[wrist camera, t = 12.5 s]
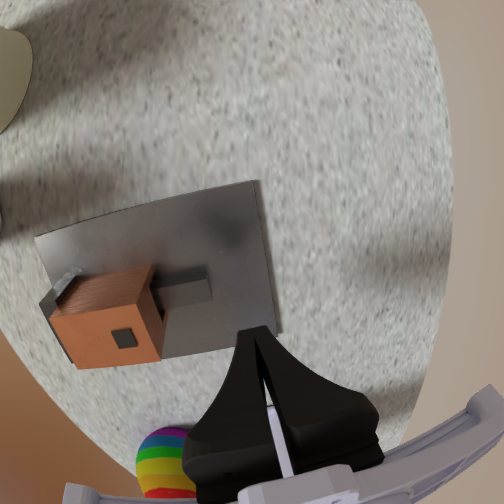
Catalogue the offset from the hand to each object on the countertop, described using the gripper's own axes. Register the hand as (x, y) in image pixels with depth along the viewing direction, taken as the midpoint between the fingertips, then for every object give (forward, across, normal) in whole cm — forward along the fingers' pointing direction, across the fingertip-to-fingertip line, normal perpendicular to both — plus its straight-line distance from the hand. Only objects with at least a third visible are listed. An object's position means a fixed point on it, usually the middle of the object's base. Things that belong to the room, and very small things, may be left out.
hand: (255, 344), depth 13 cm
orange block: (+7, +8, 0) cm, 11 cm away
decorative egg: (+8, +11, +19) cm, 23 cm away
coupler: (+8, +6, 0) cm, 10 cm away
